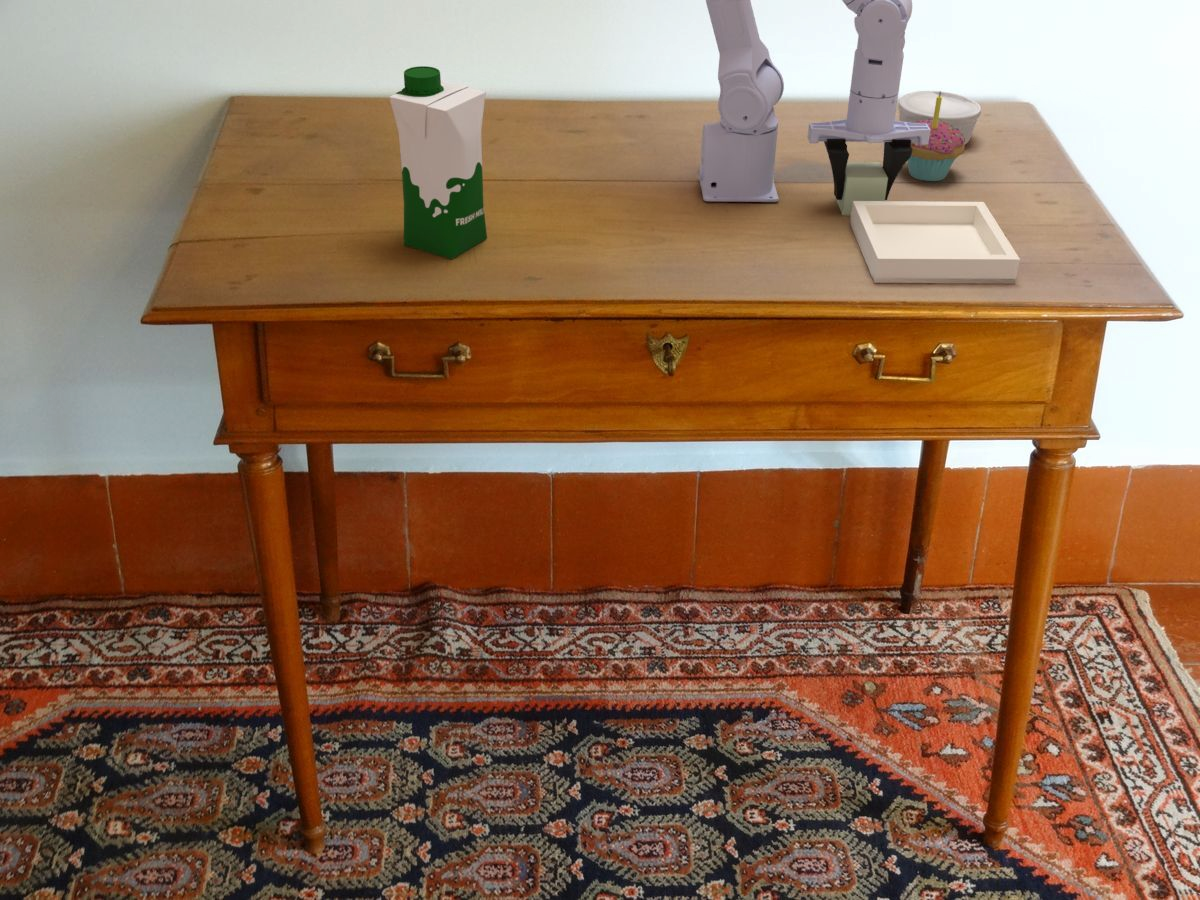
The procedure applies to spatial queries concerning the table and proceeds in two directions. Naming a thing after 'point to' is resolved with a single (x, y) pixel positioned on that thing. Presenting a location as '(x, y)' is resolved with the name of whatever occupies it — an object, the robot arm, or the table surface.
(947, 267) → the cream bin
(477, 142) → the milk carton
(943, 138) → the cupcake
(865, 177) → the sage block
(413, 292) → the table surface
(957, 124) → the ramekin
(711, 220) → the table surface
